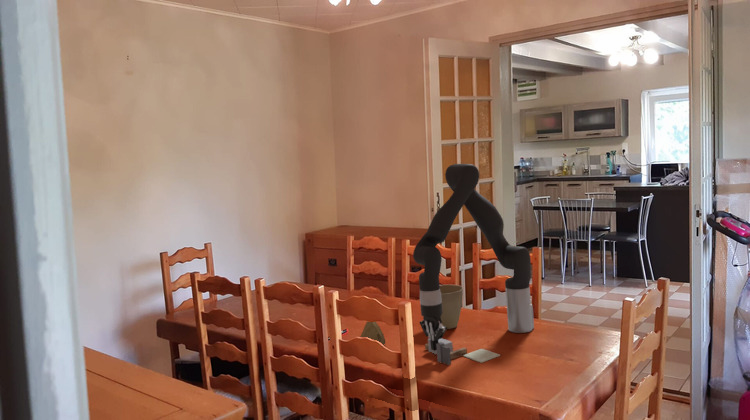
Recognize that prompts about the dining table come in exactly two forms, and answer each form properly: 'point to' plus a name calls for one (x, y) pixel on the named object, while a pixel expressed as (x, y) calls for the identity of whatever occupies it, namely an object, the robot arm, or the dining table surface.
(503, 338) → the dining table surface
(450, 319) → the plant pot
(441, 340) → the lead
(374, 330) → the rock
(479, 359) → the mat
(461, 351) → the clamp rails
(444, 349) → the grey stepped block
